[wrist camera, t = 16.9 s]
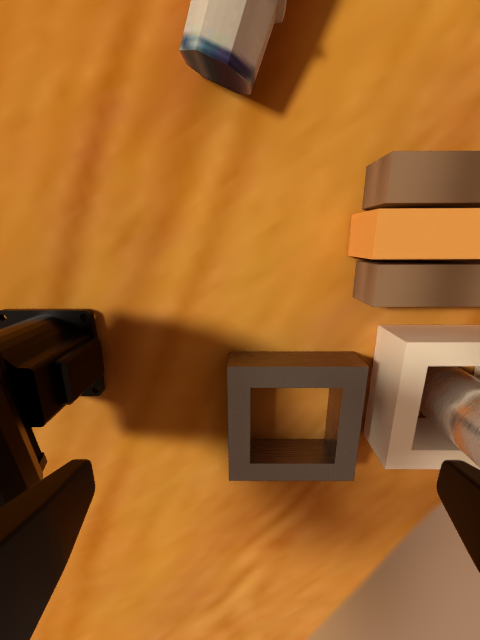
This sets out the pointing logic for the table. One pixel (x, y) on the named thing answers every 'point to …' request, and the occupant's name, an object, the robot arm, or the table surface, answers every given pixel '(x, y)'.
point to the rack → (414, 392)
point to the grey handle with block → (229, 39)
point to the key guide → (421, 192)
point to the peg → (454, 407)
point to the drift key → (416, 233)
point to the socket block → (296, 455)
